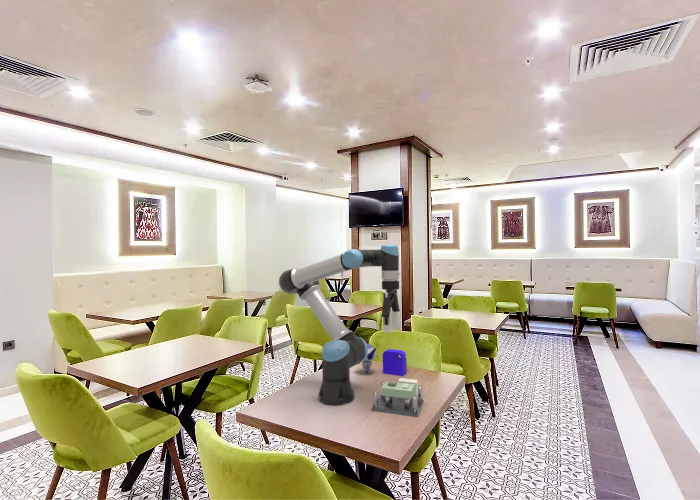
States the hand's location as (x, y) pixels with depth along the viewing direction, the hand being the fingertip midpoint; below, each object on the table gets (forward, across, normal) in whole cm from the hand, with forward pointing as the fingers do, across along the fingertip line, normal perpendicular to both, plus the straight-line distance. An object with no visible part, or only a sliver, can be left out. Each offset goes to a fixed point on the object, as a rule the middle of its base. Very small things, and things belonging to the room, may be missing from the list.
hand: (391, 329), depth 161 cm
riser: (+29, +4, -6) cm, 30 cm away
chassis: (+29, -10, -5) cm, 31 cm away
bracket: (+29, +36, +6) cm, 47 cm away
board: (+24, -10, -5) cm, 26 cm away
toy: (+29, +26, +20) cm, 44 cm away
